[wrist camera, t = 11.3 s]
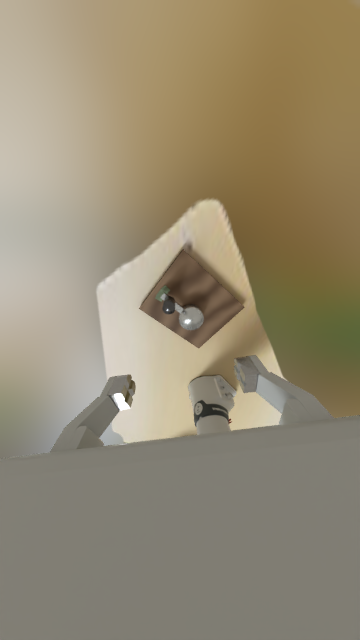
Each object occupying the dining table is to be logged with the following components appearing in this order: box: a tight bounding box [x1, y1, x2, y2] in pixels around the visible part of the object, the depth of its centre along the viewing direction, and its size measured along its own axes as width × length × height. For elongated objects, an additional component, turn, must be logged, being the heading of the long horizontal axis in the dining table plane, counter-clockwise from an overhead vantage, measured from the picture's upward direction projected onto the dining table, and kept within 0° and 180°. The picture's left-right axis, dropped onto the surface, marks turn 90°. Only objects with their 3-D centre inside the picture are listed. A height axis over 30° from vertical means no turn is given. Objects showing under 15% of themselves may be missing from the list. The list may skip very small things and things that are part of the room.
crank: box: [160, 292, 204, 330], centre depth 37 cm, size 14×7×7 cm, turn 49°
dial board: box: [139, 250, 244, 348], centre depth 41 cm, size 24×20×2 cm
